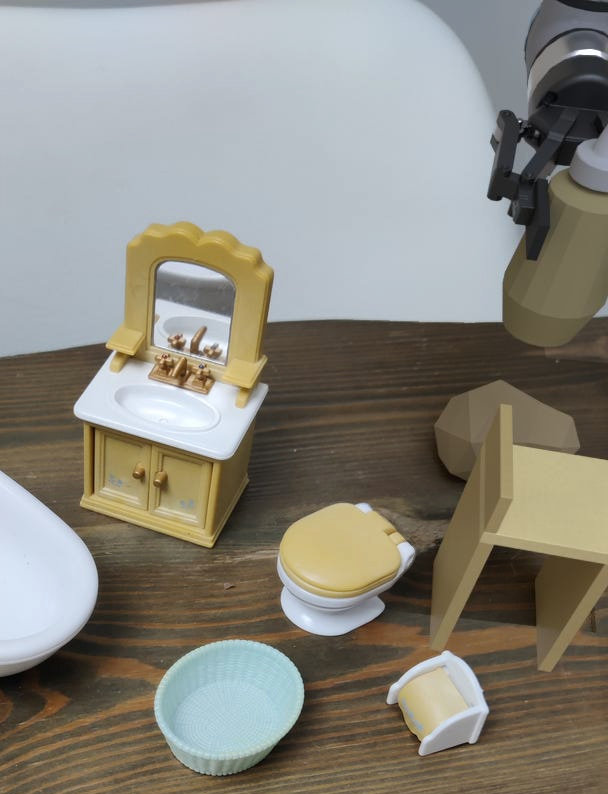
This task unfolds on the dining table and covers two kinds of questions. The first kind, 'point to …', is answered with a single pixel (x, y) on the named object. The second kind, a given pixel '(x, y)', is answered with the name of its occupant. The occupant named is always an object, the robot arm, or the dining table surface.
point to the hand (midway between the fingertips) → (589, 250)
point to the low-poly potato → (473, 418)
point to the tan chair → (527, 535)
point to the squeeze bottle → (564, 256)
